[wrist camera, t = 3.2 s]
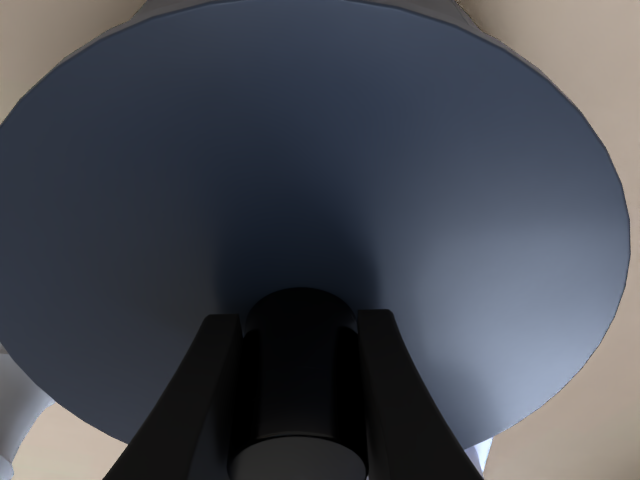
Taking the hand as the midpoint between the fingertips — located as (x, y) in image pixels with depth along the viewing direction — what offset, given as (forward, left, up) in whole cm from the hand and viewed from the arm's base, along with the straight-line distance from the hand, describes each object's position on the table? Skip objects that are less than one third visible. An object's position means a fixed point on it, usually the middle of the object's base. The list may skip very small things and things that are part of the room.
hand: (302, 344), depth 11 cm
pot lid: (0, 0, -1) cm, 1 cm away
